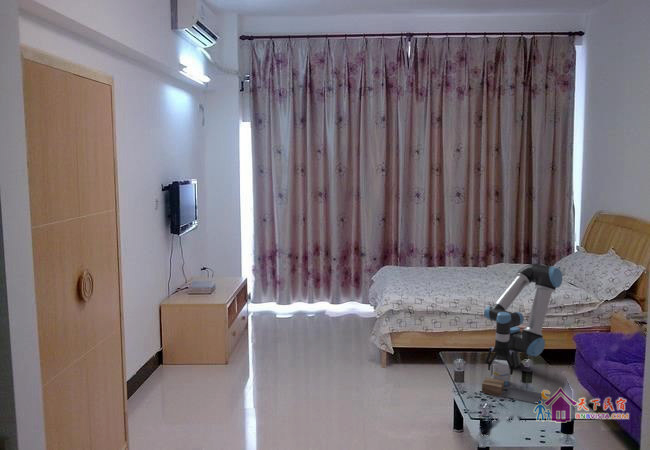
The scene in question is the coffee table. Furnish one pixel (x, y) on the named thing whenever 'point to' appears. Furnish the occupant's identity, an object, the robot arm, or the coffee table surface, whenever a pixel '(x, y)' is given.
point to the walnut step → (493, 386)
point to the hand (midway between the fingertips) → (499, 377)
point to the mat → (522, 395)
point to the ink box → (500, 370)
